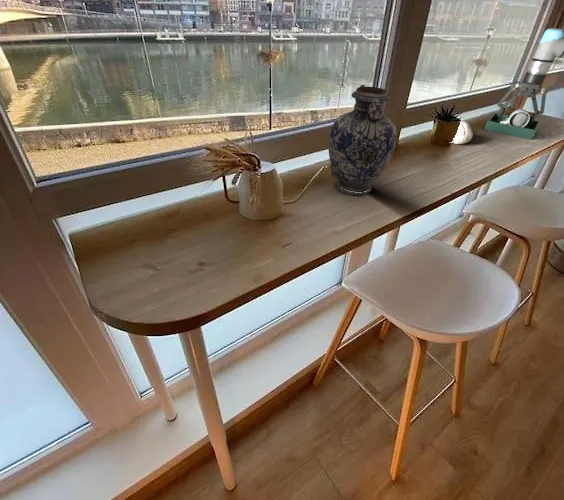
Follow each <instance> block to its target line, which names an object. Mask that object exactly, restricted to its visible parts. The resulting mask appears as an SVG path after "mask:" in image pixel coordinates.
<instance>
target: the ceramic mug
mask: <svg viewBox="0 0 564 500" xmlns="http://www.w3.org/2000/svg"><path fill="white" fill-rule="evenodd" d="M509 116H510V117H509V118H506V119H503V120H500V123H502V124H509V125H512V126H517V127H522V128H523V127H525V126H526V125H527V124H528V122H529V120H530V117H531V115H530V114H529V112H528V111H527V110H526V109H523V108H518V109H516V110H514V111H513V112H512V113H510V115H509Z"/></svg>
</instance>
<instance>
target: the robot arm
mask: <svg viewBox="0 0 564 500" xmlns="http://www.w3.org/2000/svg"><path fill="white" fill-rule="evenodd" d="M557 58H559V59H564V28H553V27H552V28H551V27H550V28H547V29H546V30H545V31H544V33H543V35H542V37H541V38H540V41H539V43H538V45H537V48H536V50H535V52H534V54H533V56H532V59H531V61H530V62H529V65H528V67H527V72H525V74H524V76H523V78H522V81H521V82H520V84H516V83H512V84H511V86H510V88H509V90H508V91H507V92H506V93H505V94H504V96H503V97H502V98H501V100H500V101H499V102H498V103H497V107H499V110H498V115H499V116H500V117H499V119H498V122H497V123H499V122H500V120H501V118H502V116H503V114H504V113H505V111H506V107H507V106H508V105H510V104H511V103H513V102H514V101H515V100H516V99H517V98H519V97H520V96H521V97H526V98H531V102H532V107H533V112H532V113H531V115H530V120H529V122H528V124H527V126H526V128H528V126H529V124H530V122H534V120H536V118H537V117H538V115H544V112H545V107H546V98H547V94H548V92H549V88H548V87H547V88H545V87H542V86H543V83H544V82H545V79H546V77H547V74H548V73H549V71H550V70H551V67H552V65H553V63H554V61H555V59H557ZM517 88H518V89H517ZM516 89H517V90H518V92H517V93H516V94H515V95H513V96H512V97H511V98H509V100H507V101H506V99H507V98H508V97H509V96H510V95H511V94H512V93H513V91H515V90H516ZM539 92H540V94H541V100H540V101H541V102H540V110H539V105H538V101H537V96H536V94H538V93H539ZM505 101H506V102H505Z"/></svg>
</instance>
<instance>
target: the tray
mask: <svg viewBox="0 0 564 500" xmlns="http://www.w3.org/2000/svg"><path fill="white" fill-rule="evenodd" d="M498 113H499V112H498ZM498 113H497V112H493V114H491V116H490V117H489V118H488V119H487V121H486V123H485V125H484V127H483V130H484V131H489V132H494V133H500V134H504V135H508V136H514V137H519V138H522V139H528V140H533V138H534V137H535V135H536V133H537V131H538V129H539V126H540V123H541V120H536V119H535V120H534V122H530V124H529V126H528V128H526V126H527V125H526V126H525V127H523V128H522V127H517V126H512V125H509V124H502V123H500V122H499V123H497V122H498V119H499V117H500V116H499V115H498ZM509 117H510V115H508V114H504V113H503V116H502V118H501V120H503V119H506V118H509Z"/></svg>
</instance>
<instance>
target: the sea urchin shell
mask: <svg viewBox="0 0 564 500" xmlns="http://www.w3.org/2000/svg"><path fill="white" fill-rule="evenodd" d="M460 120H461V122H460V125H459V127H458V130H457V133H456V135H455V137H454V138H453V141H452V142H450V143H451V144H455V145H462V144H467V143H469V142H470V141H471V140H472V138H473V135H474V132H473V129H472V126H471V125H470V124H469V122H467V121H466V120H462V119H460Z"/></svg>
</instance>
